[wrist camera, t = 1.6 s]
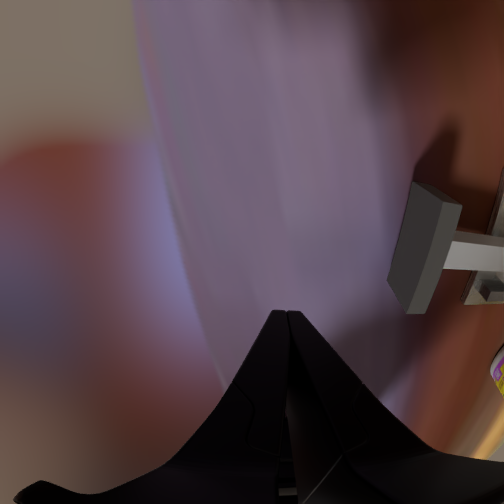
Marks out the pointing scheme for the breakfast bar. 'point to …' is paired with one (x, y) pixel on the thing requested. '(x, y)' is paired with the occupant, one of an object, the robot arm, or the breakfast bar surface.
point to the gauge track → (486, 282)
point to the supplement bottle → (498, 370)
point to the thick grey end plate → (436, 248)
